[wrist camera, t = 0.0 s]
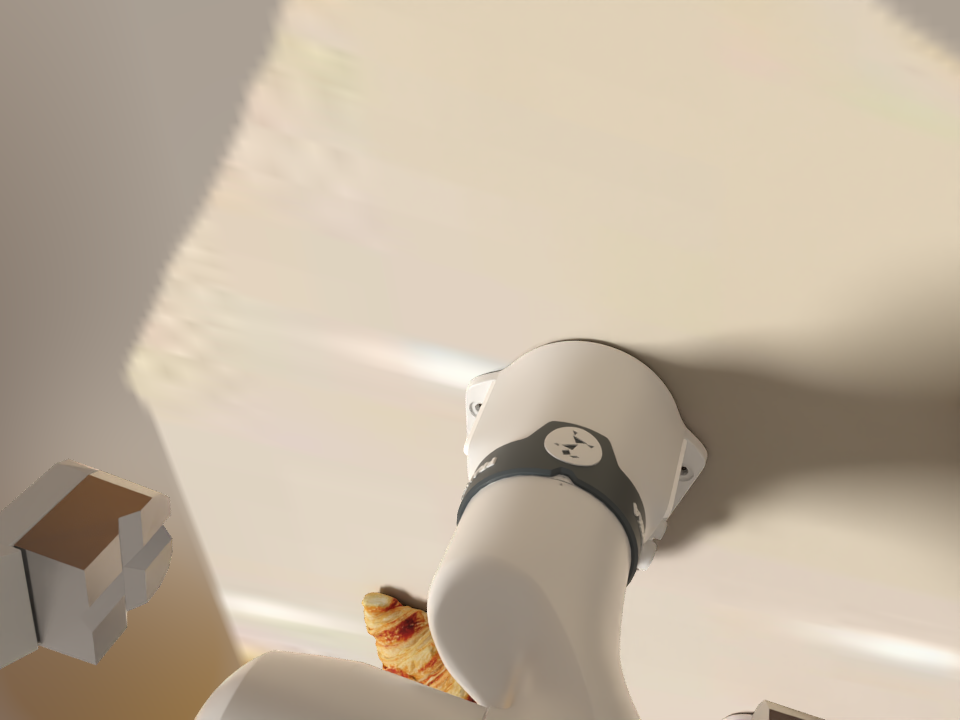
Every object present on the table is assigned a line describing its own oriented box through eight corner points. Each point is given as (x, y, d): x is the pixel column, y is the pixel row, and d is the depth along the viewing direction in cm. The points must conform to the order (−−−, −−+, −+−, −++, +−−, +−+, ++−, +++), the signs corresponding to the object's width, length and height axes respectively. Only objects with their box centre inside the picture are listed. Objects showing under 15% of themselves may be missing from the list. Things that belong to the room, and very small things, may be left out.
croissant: (368, 572, 89) (318, 639, 85) (401, 565, 80) (346, 640, 76) (522, 703, 92) (479, 774, 88) (570, 711, 83) (524, 789, 79)
